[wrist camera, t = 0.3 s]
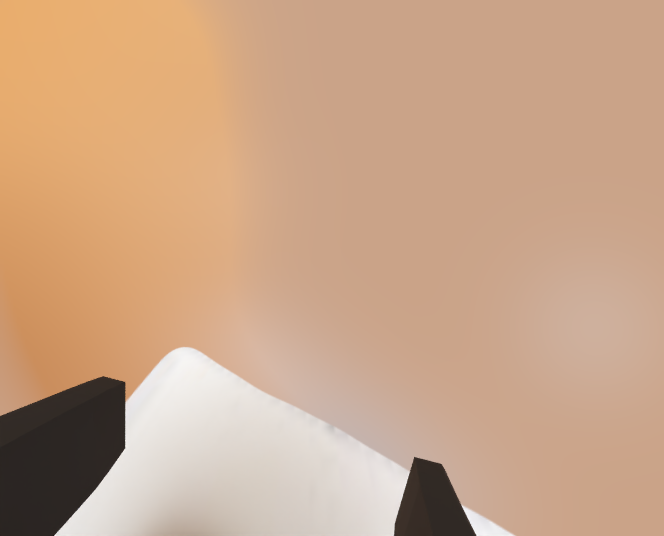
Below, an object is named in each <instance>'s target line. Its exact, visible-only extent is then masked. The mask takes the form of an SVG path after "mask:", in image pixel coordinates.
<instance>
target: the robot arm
mask: <svg viewBox="0 0 664 536" xmlns="http://www.w3.org/2000/svg"><path fill="white" fill-rule="evenodd" d="M124 449H125V382H123V381H119V380H115V379H111V378H108V377H104V376H103V377H100V378H97V379H94V380H91V381H88V382H86V383H83V384H80V385H78V386H75V387H72V388H70V389H67V390H65V391H62V392H60V393H57V394H55V395H52V396H50V397H47V398H45V399H42V400H40V401H37V402H35V403H32V404H30V405H27V406H25V407H22V408H20V409H17V410H15V411H12V412H9V413H7V414H4V415H2V416H0V536H54V535H55V534H56V533H57V532H58V531H59V530H60V528H61V527H62V526H63V525H64V524H65V523H66V522H67V521H68V520H69V518H70V517H71V516H72V515H73V514H74V513H75V512H76V511H77V510H78V508H79V507H80V506H81V505H82V504H83V503H84V502H85V501H86V499H87V498H88V497H89V496H90V495H91V494H92V493H93V491H94V490H95V489H96V488H97V487H98V485H99V484H100V483H101V481H102V480H103V479H104V477H105V476H106V475H107V473H108V472H109V470H110V469H111V468H112V466H113V465H114V463H115V462H116V461H117V459H118V458H119V456H120V455H121V453H122V452H123V451H124ZM394 536H476V534H475V532H474V530H473V528H472V526H471V524H470V522H469V520H468V518H467V516H466V514H465V512H464V510H463V508H462V506H461V504H460V501H459V499H458V497H457V495H456V493H455V491H454V489H453V486H452V485H451V482H450V480H449V478H448V476H447V473H446V471H445V469H444V467H443V466H442V464H439V463H435V462H431V461H428V460H424V459H420V458H416V457H414V460H413V464H412V467H411V470H410V474H409V477H408V481H407V484H406V487H405V491H404V494H403V498H402V501H401V505H400V508H399V511H398V515H397V518H396V522H395V531H394Z"/></svg>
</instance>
